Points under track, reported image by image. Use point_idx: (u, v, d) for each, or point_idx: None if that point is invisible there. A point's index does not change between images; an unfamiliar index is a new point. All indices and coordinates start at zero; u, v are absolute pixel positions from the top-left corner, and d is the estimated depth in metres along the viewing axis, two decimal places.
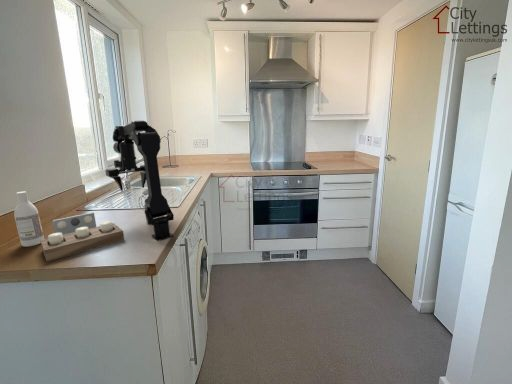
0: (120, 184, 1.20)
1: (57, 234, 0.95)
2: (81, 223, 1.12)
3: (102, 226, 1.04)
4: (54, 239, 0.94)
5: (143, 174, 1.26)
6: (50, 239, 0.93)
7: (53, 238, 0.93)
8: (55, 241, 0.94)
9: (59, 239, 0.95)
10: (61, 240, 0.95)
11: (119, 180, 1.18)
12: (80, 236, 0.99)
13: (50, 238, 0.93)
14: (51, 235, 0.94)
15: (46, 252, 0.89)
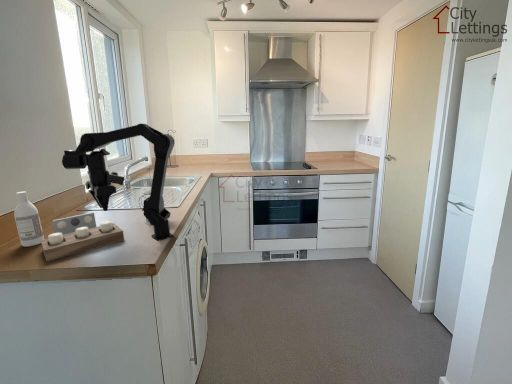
0: (95, 200, 1.05)
1: (57, 234, 0.95)
2: (81, 223, 1.12)
3: (102, 226, 1.04)
4: (54, 239, 0.94)
5: None
6: (50, 239, 0.93)
7: (53, 238, 0.93)
8: (55, 241, 0.94)
9: (59, 239, 0.95)
10: (61, 240, 0.95)
11: None
12: (80, 236, 0.99)
13: (50, 238, 0.93)
14: (51, 235, 0.94)
15: (46, 252, 0.89)
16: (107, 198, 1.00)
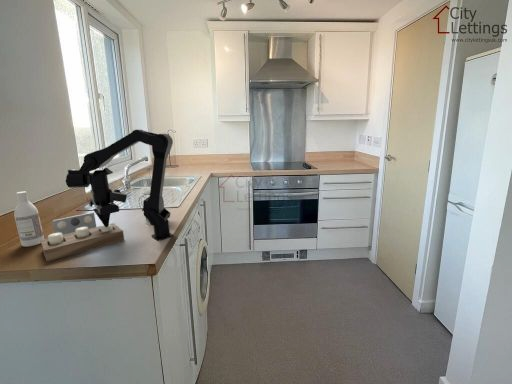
0: (99, 218, 1.04)
1: (57, 234, 0.95)
2: (81, 223, 1.12)
3: (103, 229, 1.04)
4: (54, 239, 0.94)
5: None
6: (50, 239, 0.93)
7: (53, 238, 0.93)
8: (55, 241, 0.94)
9: (59, 239, 0.95)
10: (61, 240, 0.95)
11: (96, 214, 1.04)
12: (80, 236, 0.99)
13: (50, 238, 0.93)
14: (51, 235, 0.94)
15: (46, 252, 0.89)
16: (108, 215, 1.04)
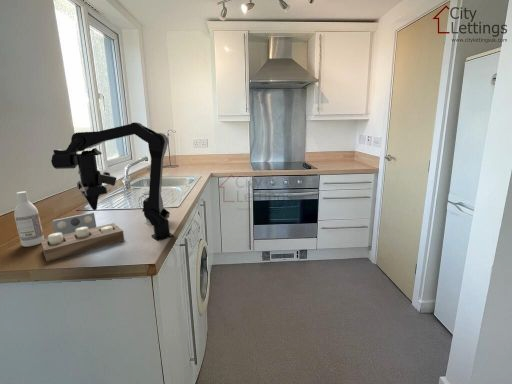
0: (87, 201, 1.01)
1: (57, 234, 0.95)
2: (81, 223, 1.12)
3: (103, 231, 1.04)
4: (54, 239, 0.94)
5: None
6: (50, 239, 0.93)
7: (53, 238, 0.93)
8: (55, 241, 0.94)
9: (59, 239, 0.95)
10: (61, 240, 0.95)
11: (84, 196, 1.00)
12: (80, 236, 0.99)
13: (50, 238, 0.93)
14: (51, 235, 0.94)
15: (46, 252, 0.89)
16: (96, 197, 1.01)
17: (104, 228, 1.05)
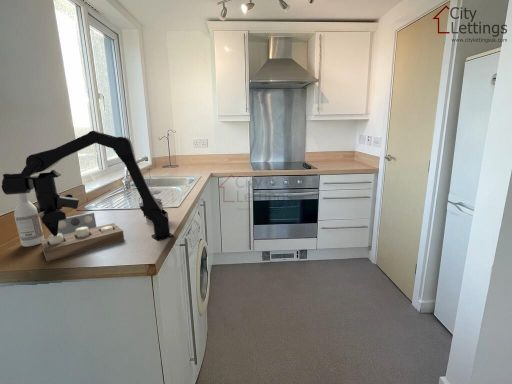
0: None
1: (57, 235, 0.95)
2: (81, 223, 1.12)
3: (103, 231, 1.04)
4: (55, 240, 0.94)
5: None
6: (50, 240, 0.93)
7: (53, 239, 0.93)
8: (56, 242, 0.94)
9: (60, 240, 0.95)
10: (61, 241, 0.95)
11: None
12: (80, 236, 0.99)
13: (50, 239, 0.93)
14: (51, 236, 0.95)
15: (46, 252, 0.89)
16: (56, 222, 0.93)
17: (104, 228, 1.05)
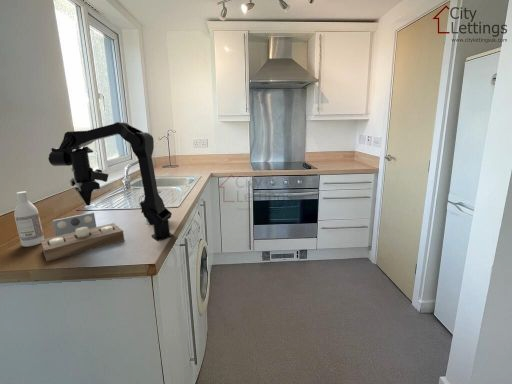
0: (81, 197, 1.06)
1: (58, 239, 0.96)
2: (81, 223, 1.12)
3: (103, 231, 1.04)
4: None
5: None
6: (51, 244, 0.94)
7: (54, 243, 0.94)
8: None
9: None
10: None
11: (77, 192, 1.06)
12: (80, 236, 0.99)
13: (51, 243, 0.94)
14: (52, 240, 0.95)
15: (46, 252, 0.89)
16: (89, 193, 1.06)
17: (104, 228, 1.05)
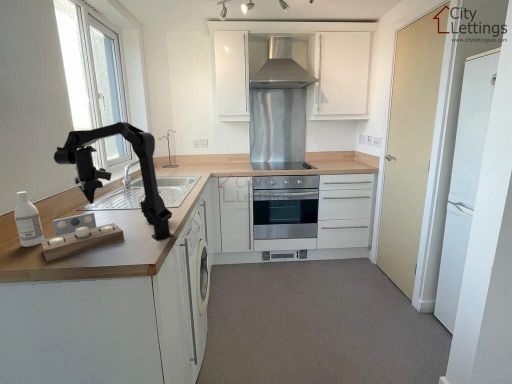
0: (84, 195, 1.08)
1: (58, 239, 0.96)
2: (81, 223, 1.12)
3: (103, 231, 1.04)
4: None
5: None
6: (51, 244, 0.94)
7: (54, 243, 0.94)
8: None
9: None
10: None
11: None
12: (80, 236, 0.99)
13: (51, 243, 0.94)
14: (52, 240, 0.95)
15: (46, 252, 0.89)
16: (93, 192, 1.07)
17: (104, 228, 1.05)
